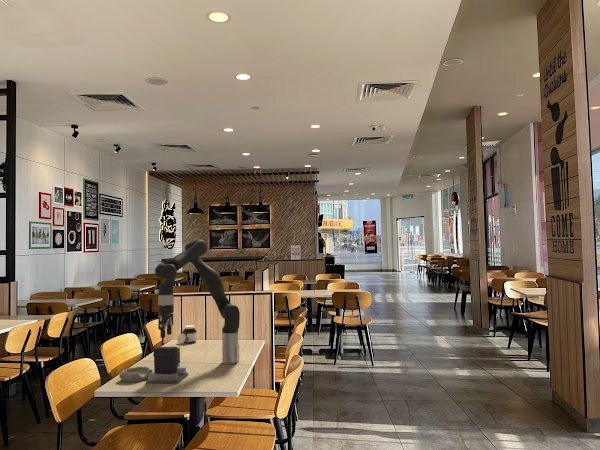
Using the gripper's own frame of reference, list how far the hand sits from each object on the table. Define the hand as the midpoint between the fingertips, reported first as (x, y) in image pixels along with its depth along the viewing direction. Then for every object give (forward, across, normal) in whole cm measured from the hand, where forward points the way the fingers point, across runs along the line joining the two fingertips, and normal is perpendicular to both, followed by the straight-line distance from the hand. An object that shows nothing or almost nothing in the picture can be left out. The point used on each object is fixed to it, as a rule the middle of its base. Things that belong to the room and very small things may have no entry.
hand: (166, 336), depth 243 cm
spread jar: (+22, -96, -22) cm, 101 cm away
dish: (+22, -2, -17) cm, 28 cm away
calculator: (+20, 0, 0) cm, 21 cm away
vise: (+22, -2, 0) cm, 22 cm away
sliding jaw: (+20, -12, 0) cm, 24 cm away
